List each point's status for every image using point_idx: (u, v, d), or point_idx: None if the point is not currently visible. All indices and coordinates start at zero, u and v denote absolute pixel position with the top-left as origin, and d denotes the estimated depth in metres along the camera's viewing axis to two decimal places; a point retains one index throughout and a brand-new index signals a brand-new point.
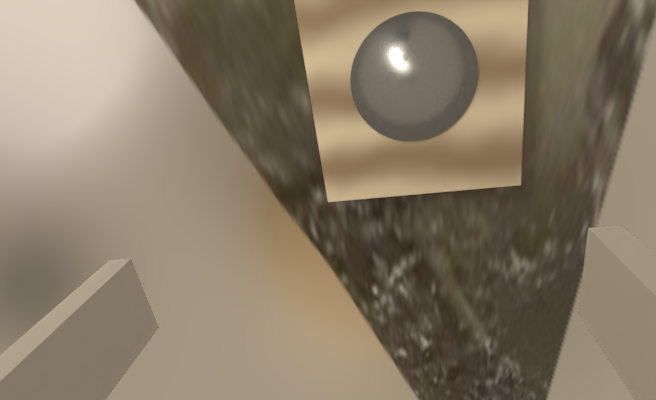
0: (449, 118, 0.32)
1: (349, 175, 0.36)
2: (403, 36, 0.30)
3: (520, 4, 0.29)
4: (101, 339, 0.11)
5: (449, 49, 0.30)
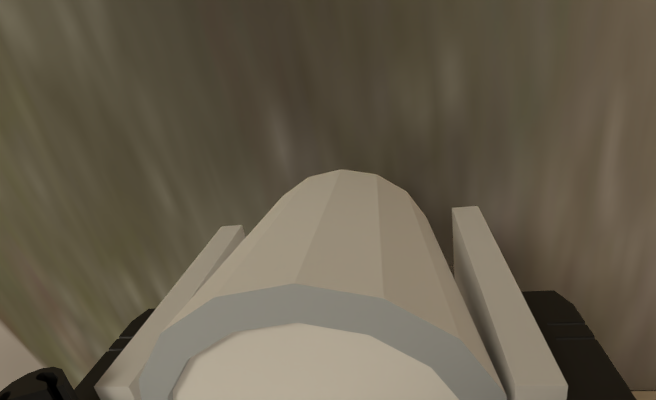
0: None
1: None
2: None
3: None
4: None
5: None
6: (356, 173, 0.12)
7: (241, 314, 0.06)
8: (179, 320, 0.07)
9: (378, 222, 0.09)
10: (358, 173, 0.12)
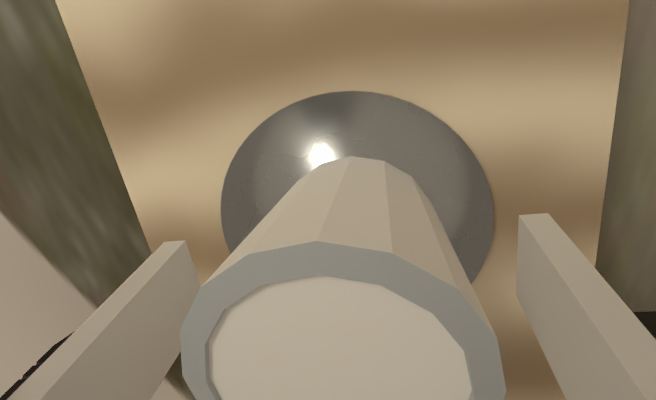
0: None
1: None
2: (324, 143, 0.13)
3: (599, 80, 0.12)
4: (164, 314, 0.11)
5: (428, 173, 0.13)
6: (365, 160, 0.13)
7: (271, 268, 0.07)
8: (217, 275, 0.08)
9: (386, 198, 0.10)
10: (367, 160, 0.13)
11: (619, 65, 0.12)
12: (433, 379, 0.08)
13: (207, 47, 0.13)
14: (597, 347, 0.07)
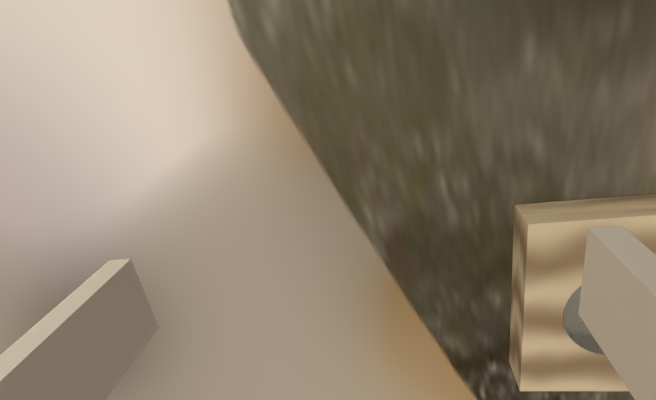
0: None
1: (545, 374, 0.41)
2: None
3: None
4: (101, 339, 0.11)
5: None
6: None
7: None
8: None
9: None
10: None
11: None
12: None
13: (584, 251, 0.34)
14: None
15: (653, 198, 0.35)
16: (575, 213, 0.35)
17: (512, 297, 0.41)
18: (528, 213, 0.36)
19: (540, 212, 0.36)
